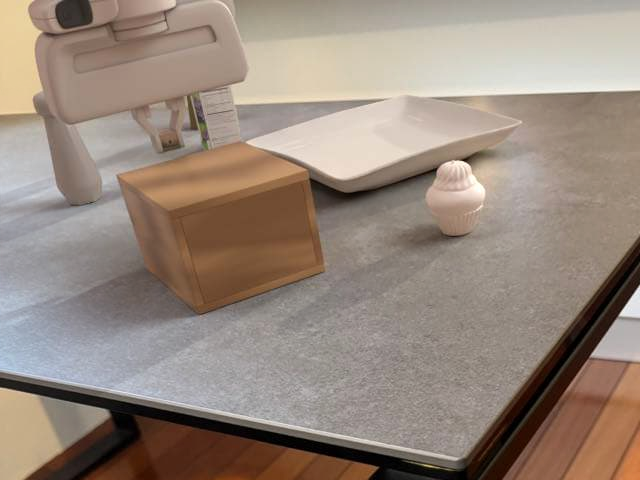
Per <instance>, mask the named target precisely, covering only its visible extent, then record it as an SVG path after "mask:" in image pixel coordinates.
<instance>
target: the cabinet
mask: <svg viewBox="0 0 640 480" xmlns="http://www.w3.org/2000/svg"><path fill="white" fill-rule="evenodd" d="M115 176H116V180H117V182H118V186H119V188H120V192H121V195H122V198H123V200H124V204H125V207H126V209H127V213H128V216H129V219H130V222H131V225H132V228H133V232H134V234H135V237H136V241H137V244H138V247H139V250H140V252H141V256H142V259H143V262H144V264H145V267H146V270H148V271H149V272H150V273H151V274H152V275H153V276H154V277H156V278H157V279H158V281H160V282H161V283H162V284H164V286H166V287H167V288H168V289H169V290H170V291H172V292H173V293H174V295H176V296H177V297H178V298H179V299H181V300H182V302H183V303H185V304H186V305H187V306H189V307H190V309H192V310H193V311H194V312H195V313H196V314H197V315H203V314H206V313H208V312H211V311H214V310H217V309H220V308H223V307H226V306H230V305H232V304H234V303H237V302H240V301H243V300H246V299H249V298H251V297H255V296H257V295H260V294H263V293H267V292H269V291H272V290H275V289H279V288H280V287H284V286H287V285H289V284H292V283H295V282H298V281H300V280H304V279H306V278H310V277H313V276H316V275H318V274H321V273H323V272H326V267H325V259H324V255H323V254H324V253H323V248H322V242H321V237H320V232H319V227H318V226H319V225H318V221H317V215H316V209H315V203H314V198H313V192H312V187H311V181H310V178H309V175H308V170H307V169H304V168H302V167H300V166H297V165H295V164H293V163H290V162H288V161H286V160H284V159H281V158H279V157H277V156H274V155H272V154H270V153H267V152H265V151H263V150H260V149H258V148H256V147H254V146H251V145H249V144H247V143H245V141H243V140H242V141H238V142H235V143H231V144H227V145H224V146H220V147H216V148H213V149H209V150H205V151H204V150H201V151H197V152H195V153H191V154H188V155H183V156H180V157H175V158H173V159H169V160H165V161H162V162H157V163H154V164H151V165H146V166H143V167H139V168H136V169H132V170H129V171H125V172H121V173H117V174H115Z"/></svg>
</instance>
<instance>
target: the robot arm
mask: <svg viewBox="0 0 640 480" xmlns="http://www.w3.org/2000/svg"><path fill="white" fill-rule="evenodd" d="M27 12H28V13H27V14H28V16H29V18H30V21H31V23H32V25H33V26H34V28H35V29H37V30H38V31H41V33H40V34H39V35H37V37H36V40H35V43H34V58H35V65H36V68H37V73H38V78H39V81H40V85H41V89H42V91H43V92H44V95H45V99H46V102H47V104H48V107H49V110H50V112H51V113H52V115H53V116H54V117H55V118H57V119H58V120H59V121H61V122H63V123H65V124H67V125H73V124H74V125H77V124H81V123H85V122H89V121H92V120H97V119H100V118H101V119H102V118H105V117H108V116H112V115H116V114H121V113H124V112H128V111H129V112H130V113H131V117H132V119H133V120H134V121H135V122H136V123H137V124H138V125H139V126H140V127H141V129H143V131H144V132H145V133H146V134H147V135H148V136H149V140H150V142H151V145H152V149H153V151H154V153H156V154H157V155H161V154H165V153H168V152H172V151H176V150H179V149H184V148H185V147H186V144H185V143H186V142H185V140H184V137H183V133H182V129H183V126H184V121H185V116H186V112H187V106H186V102H185V98H184V97H187V96H188V95H192V94H196V93H200V92H204V91H208V90H212V89H216V88H220V87H224V86H228V85H231V86H232V85H235V84H240V83H243V82H245V81H246V79H247V76H248V73H249V70H250V66H249V62H248V58H247V54H246V50H245V47H244V44H243V40H242V38H241V35H240V32H239V30H238V26H237V24H236V21H235V20H236V8H235V3H234V0H33V1H31V2H30V3H29V5H28V7H27ZM160 103H164V104H165V107H166V109H168V110H170V111H171V113H170V120H169V126H168V128H164V129H162V130H157V129H156V128H155V127H154V126H153V125H152V123H150V121H149V120H148V119H151V118H152V112H151V109H150V106H152V105H156V104H160Z"/></svg>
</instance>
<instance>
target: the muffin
mask: <svg viewBox="0 0 640 480" xmlns="http://www.w3.org/2000/svg"><path fill="white" fill-rule="evenodd" d="M485 198H486V189H485V187H484V186H483V185H482V184H481V183H480V182H479V181H478V180H477V178H476V177H475V176H474V174H473V172H472V167H471V166H470V164H468V163H467V162H465V161H463V160H460V161H454V160H452V161H450V162H446V163H444V164H442V165H441V166H440V167H438V168H437V170H436V177H435V179H434V181H433V183H432V185H431V186H429V187H428V189H427V190H426V193H425V203H426V206H427V207H428V209H429V213H430V214H431V216H432V218H433V220H434V221H435V223H436V224H437V226H438V228H439V229H440V231H441V232H442V233H443V234H444V235H446V236H451V237H452V236H453V237H455V236H456V237H458V236H459V237H460V236H464V235H468V234H469V233H472V231H473V230H474V229H475V226H476V224H477V221H478V219H479V216H480V214H481V212H482V209H483V208H484V204H483V203H484V201H485Z"/></svg>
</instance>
